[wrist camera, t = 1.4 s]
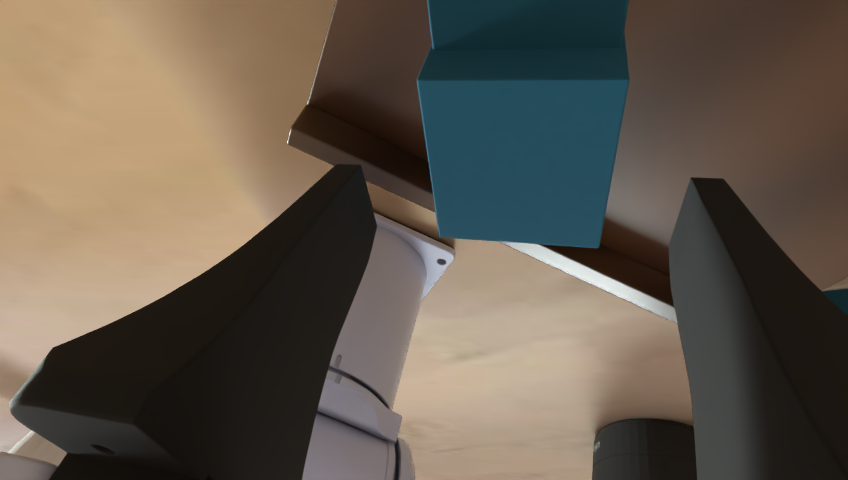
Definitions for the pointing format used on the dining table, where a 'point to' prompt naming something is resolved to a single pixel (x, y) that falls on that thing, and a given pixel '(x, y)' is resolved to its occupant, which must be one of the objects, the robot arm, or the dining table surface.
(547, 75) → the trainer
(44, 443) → the citrus juicer
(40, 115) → the dining table surface
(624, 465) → the pen holder
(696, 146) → the shoe rack
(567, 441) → the dining table surface
